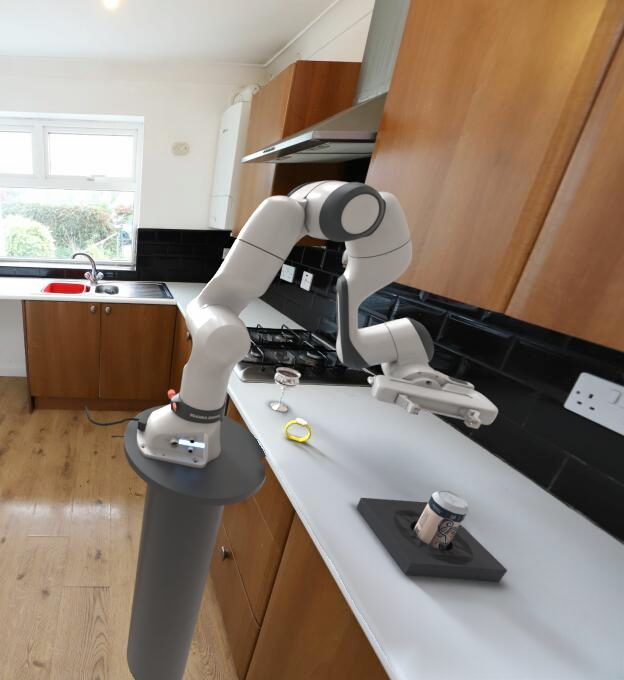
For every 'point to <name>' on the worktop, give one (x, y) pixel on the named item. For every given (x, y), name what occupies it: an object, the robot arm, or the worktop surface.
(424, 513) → the beer can
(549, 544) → the worktop surface
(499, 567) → the base
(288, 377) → the wineglass
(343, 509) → the worktop surface
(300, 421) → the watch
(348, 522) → the worktop surface
